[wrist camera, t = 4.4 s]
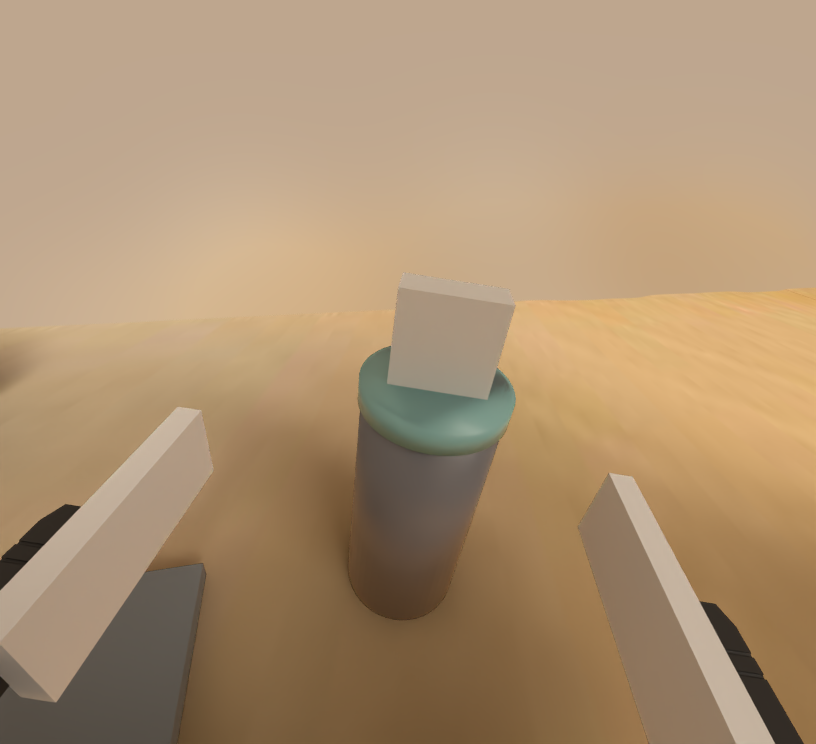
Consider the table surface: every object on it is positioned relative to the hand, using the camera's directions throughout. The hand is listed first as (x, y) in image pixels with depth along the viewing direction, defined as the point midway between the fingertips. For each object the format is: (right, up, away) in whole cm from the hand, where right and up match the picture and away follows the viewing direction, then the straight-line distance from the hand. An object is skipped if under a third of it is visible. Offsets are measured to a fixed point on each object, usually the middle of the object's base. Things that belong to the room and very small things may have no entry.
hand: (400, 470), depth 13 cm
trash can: (0, -5, +5) cm, 7 cm away
